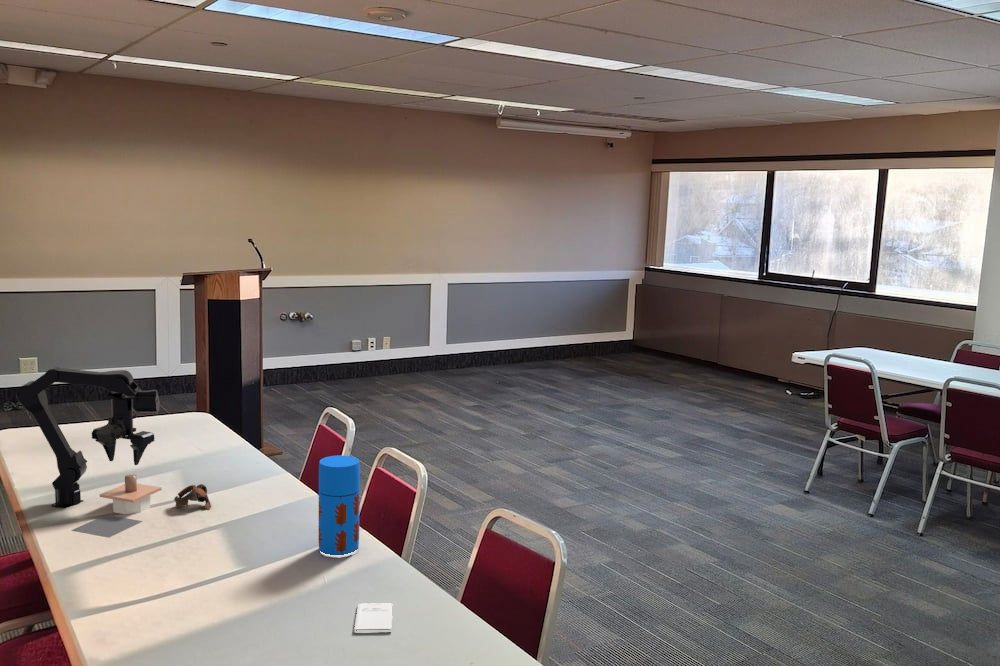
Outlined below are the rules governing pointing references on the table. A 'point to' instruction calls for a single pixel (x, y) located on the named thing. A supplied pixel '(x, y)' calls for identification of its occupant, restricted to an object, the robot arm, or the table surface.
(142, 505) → the bowl
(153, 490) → the lid
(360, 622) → the external hard drive
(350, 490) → the thermos
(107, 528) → the mat
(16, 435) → the table surface
